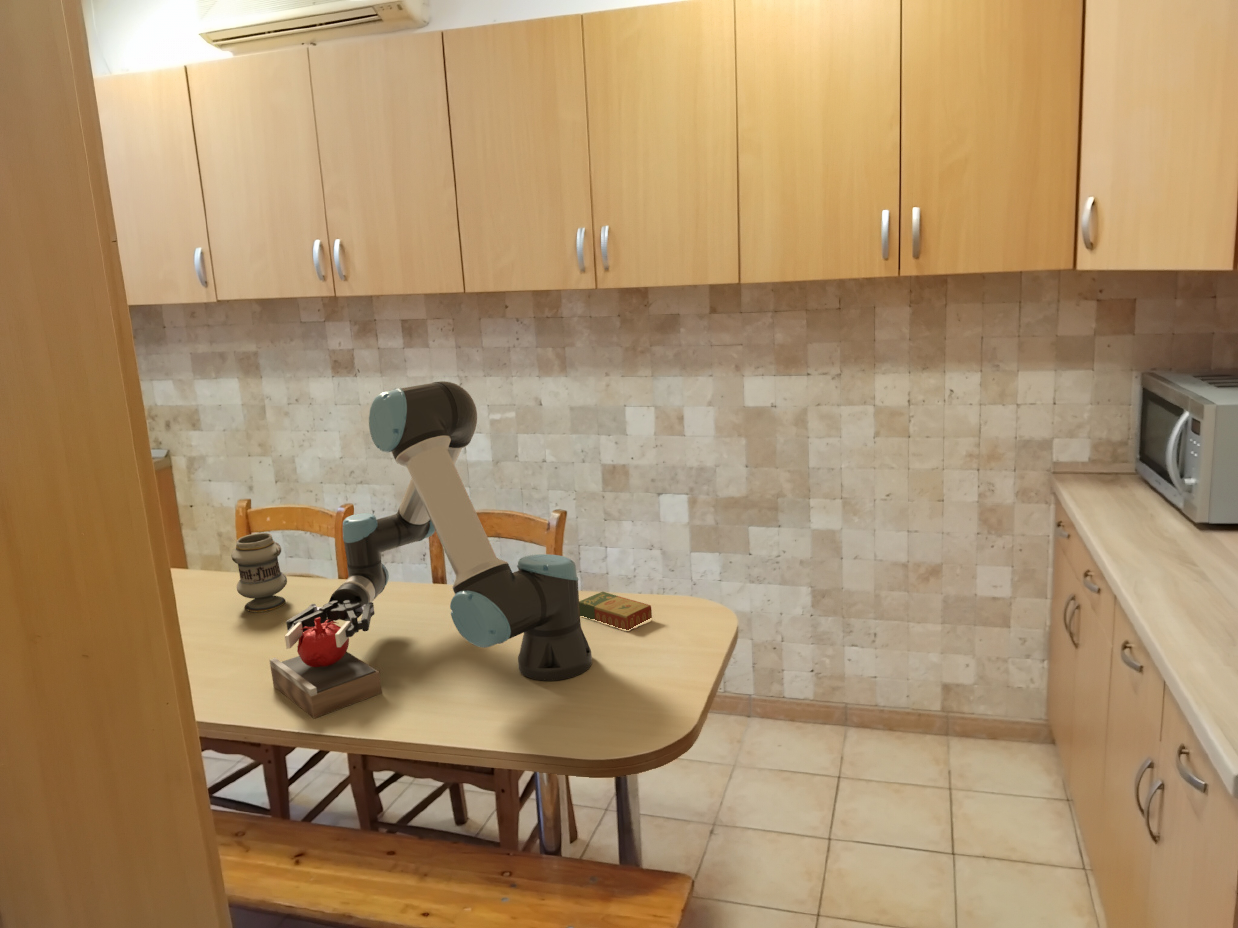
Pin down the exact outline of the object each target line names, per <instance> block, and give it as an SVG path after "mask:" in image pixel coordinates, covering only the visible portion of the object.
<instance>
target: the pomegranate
mask: <svg viewBox="0 0 1238 928" xmlns="http://www.w3.org/2000/svg"><path fill="white" fill-rule="evenodd" d="M320 620H321V618H320V617H319V618H316V619H315V626H314V627H307V626H305V627H304V628H302V629H301V630H303V629H308V630H306V631H305V632H303V633H302V636H301V637H300V639H299V640H298V641H297V643H298V644H297V646H296V647H297V651H296V652H297V654H298V656H300V658H301V660H302V661H303V662H304V663H305V664H306V665H308V666H311V667H325V666H329V665H332V664H334V663H336V662H337V661H339V660H340V659H341V658H342V657H343V656H344V654H345V653H346V651H347V652H348V649H349V644H350V637H349V638H348V639H347V640H346V641H345V643H344V644H343V645H342V646H341V647H337V645H336V637H335V634H336V633H337V632H338V631H339V629H340V628H341V627H342V626H340V625H337V624H338V622H337V621H331V622H329V623H327V621H328V620H329V619H328V620H326V621H325V622H324V623H322V624H321V623H320Z"/></svg>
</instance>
